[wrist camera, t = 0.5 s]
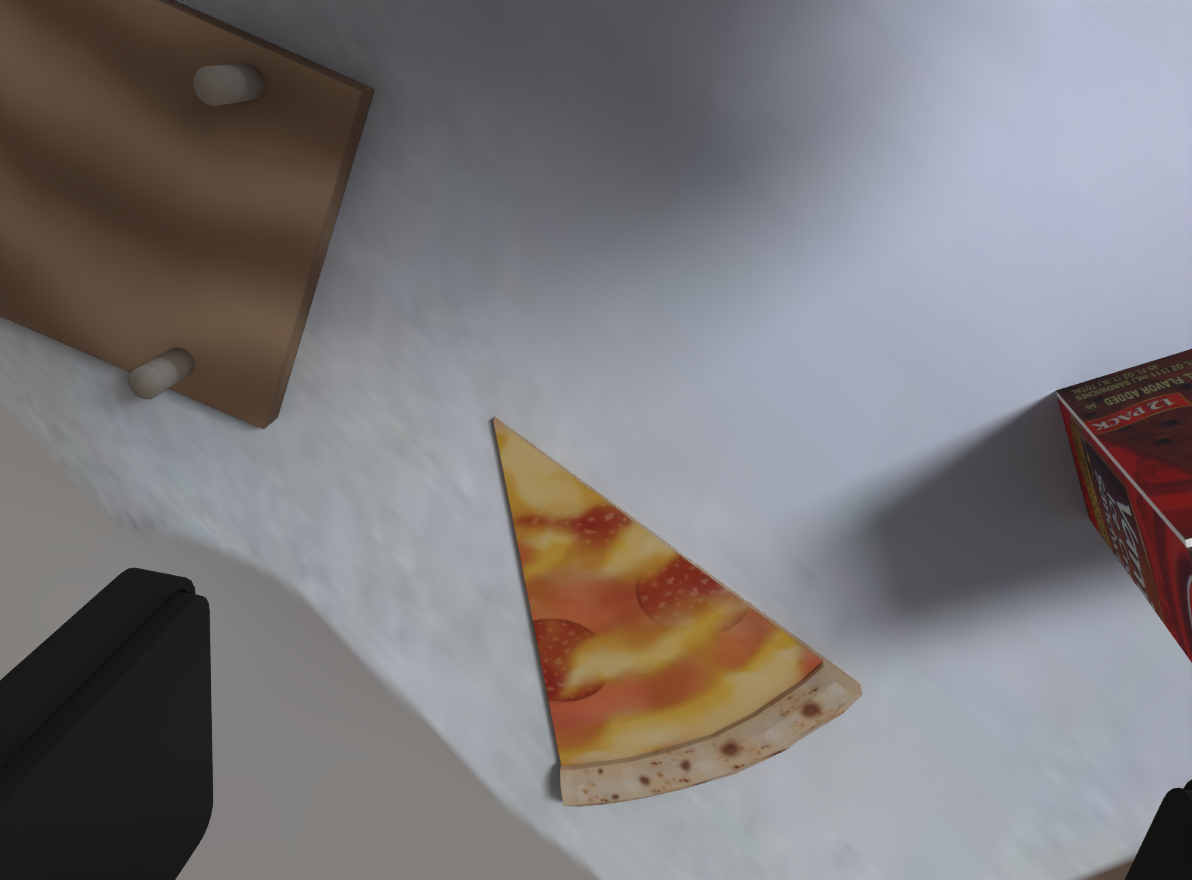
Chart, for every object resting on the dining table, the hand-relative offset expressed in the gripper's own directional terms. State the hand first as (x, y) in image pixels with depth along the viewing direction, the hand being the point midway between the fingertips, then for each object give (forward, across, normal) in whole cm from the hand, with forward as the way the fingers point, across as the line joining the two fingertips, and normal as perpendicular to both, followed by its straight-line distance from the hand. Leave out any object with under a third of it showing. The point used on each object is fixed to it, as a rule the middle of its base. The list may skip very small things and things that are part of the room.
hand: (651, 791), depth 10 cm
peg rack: (+34, +26, +3) cm, 43 cm away
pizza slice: (+35, -2, +19) cm, 40 cm away
